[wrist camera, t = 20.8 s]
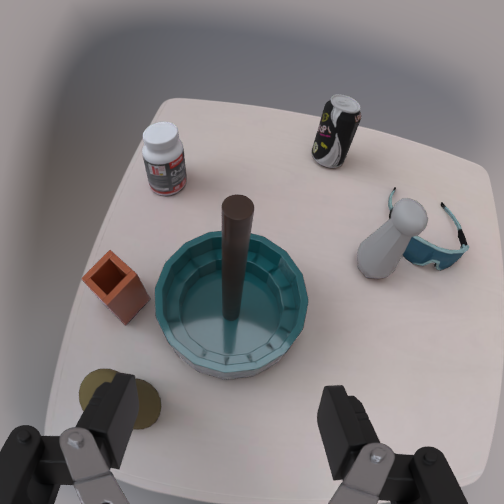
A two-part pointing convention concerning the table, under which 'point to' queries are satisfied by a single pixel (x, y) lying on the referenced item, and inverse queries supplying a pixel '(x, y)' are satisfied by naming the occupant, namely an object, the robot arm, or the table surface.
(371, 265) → the salt shaker
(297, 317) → the bowl
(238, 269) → the stick
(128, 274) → the holder
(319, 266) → the table surface
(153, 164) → the pill bottle
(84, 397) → the cork
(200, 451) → the table surface
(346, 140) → the beverage can
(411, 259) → the sunglasses
